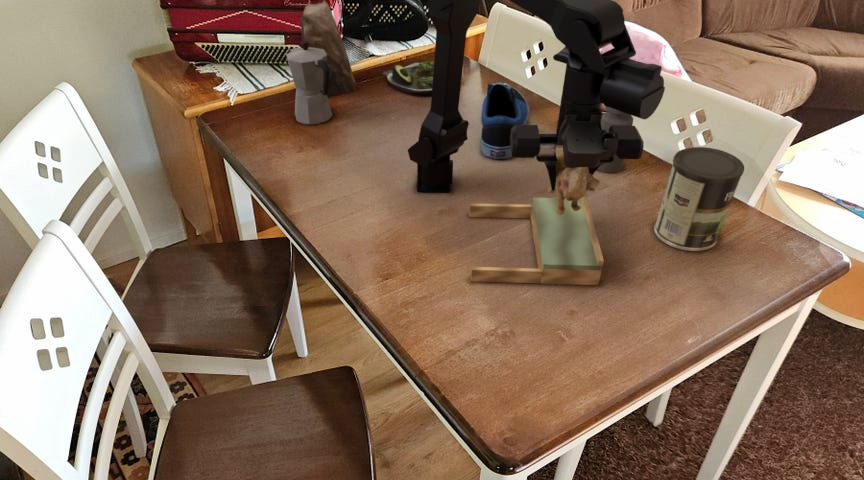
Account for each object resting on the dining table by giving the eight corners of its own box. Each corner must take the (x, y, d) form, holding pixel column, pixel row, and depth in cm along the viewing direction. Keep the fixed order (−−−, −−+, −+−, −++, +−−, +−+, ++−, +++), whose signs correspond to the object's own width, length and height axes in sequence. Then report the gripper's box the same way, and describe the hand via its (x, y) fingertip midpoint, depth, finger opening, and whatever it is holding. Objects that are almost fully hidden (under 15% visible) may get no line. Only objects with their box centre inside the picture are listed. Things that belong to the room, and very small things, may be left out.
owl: (310, 100, 156) (300, 18, 143) (296, 82, 165) (286, 4, 152) (357, 90, 159) (351, 10, 147) (341, 73, 168) (334, -4, 156)
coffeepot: (283, 113, 151) (271, 38, 139) (315, 102, 155) (307, 29, 144) (316, 135, 141) (307, 57, 130) (350, 122, 145) (344, 46, 134)
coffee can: (721, 225, 109) (747, 154, 100) (713, 258, 102) (741, 184, 93) (659, 211, 113) (679, 141, 104) (647, 241, 106) (668, 169, 97)
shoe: (529, 101, 150) (535, 51, 142) (526, 163, 128) (533, 107, 120) (484, 99, 152) (487, 49, 144) (473, 160, 130) (477, 105, 122)
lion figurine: (598, 222, 94) (604, 171, 88) (563, 228, 94) (568, 177, 88) (565, 173, 105) (569, 125, 100) (534, 178, 105) (537, 130, 99)
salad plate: (424, 61, 173) (424, 44, 170) (474, 77, 163) (475, 59, 160) (375, 82, 163) (374, 65, 160) (425, 101, 153) (425, 83, 150)
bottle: (588, 159, 128) (601, 90, 118) (616, 157, 128) (631, 88, 119) (598, 174, 123) (612, 103, 114) (627, 171, 124) (644, 101, 114)
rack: (470, 281, 100) (472, 257, 97) (469, 214, 114) (470, 191, 111) (598, 285, 98) (604, 260, 95) (580, 216, 112) (585, 193, 109)
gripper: (519, 121, 83) (509, 217, 93) (664, 122, 81) (638, 220, 91) (514, 87, 92) (505, 178, 101) (645, 87, 90) (623, 180, 100)
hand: (566, 189), depth 98 cm, fingers closed on lion figurine, 4 cm apart
